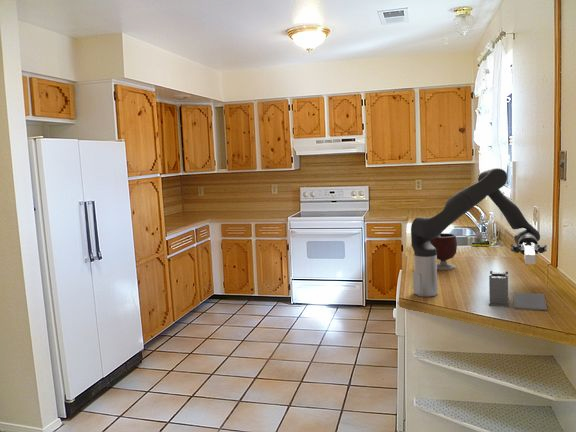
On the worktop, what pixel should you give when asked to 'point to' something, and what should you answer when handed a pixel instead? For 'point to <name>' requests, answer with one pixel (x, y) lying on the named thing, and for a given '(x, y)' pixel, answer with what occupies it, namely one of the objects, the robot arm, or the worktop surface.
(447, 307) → the worktop surface
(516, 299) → the mat
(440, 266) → the mate gourd
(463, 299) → the worktop surface
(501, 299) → the rack
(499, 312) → the worktop surface
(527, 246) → the rail
